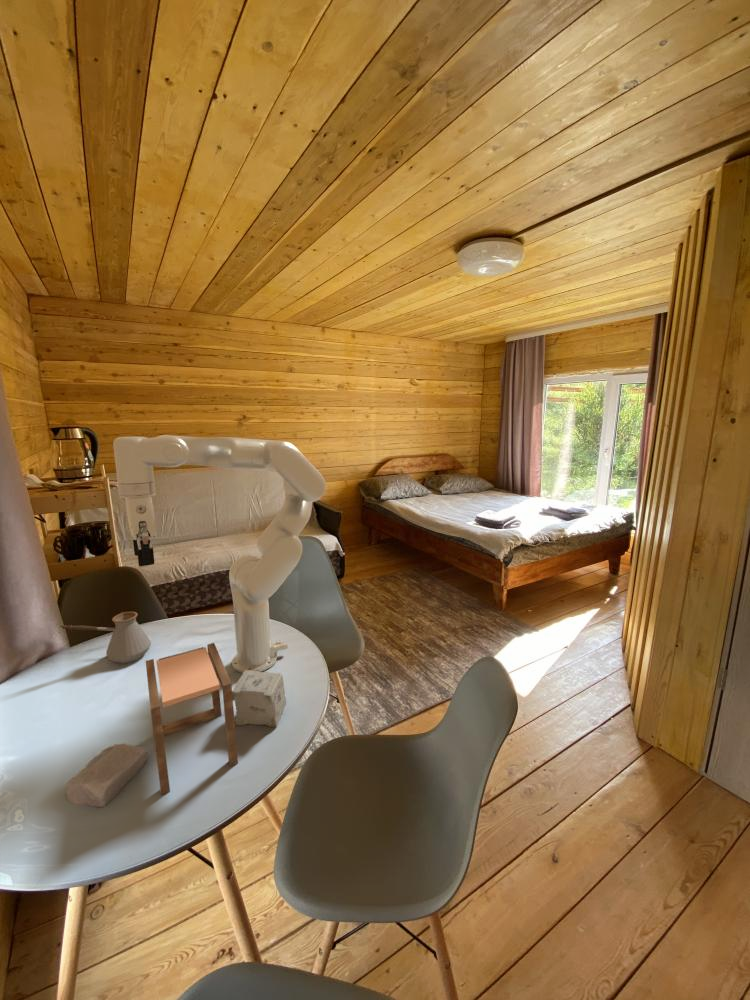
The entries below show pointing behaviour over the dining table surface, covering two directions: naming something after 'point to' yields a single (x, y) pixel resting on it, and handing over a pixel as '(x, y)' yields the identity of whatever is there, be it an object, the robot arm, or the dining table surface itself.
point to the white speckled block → (259, 698)
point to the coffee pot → (122, 638)
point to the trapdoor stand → (194, 719)
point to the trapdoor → (186, 676)
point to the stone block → (106, 775)
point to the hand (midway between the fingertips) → (144, 559)
